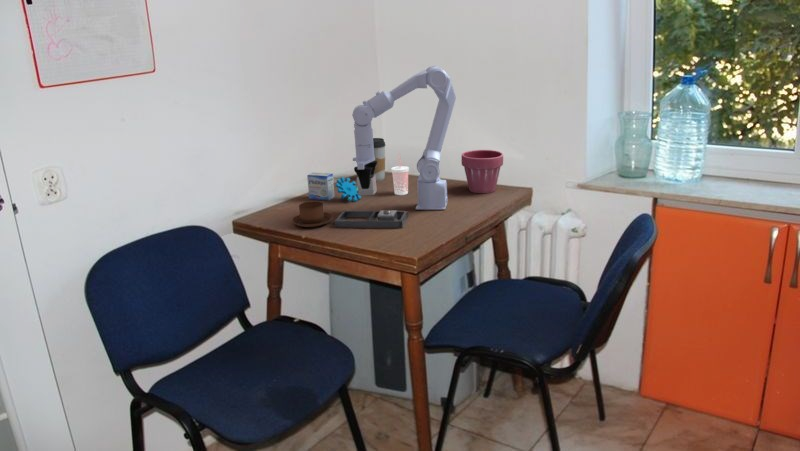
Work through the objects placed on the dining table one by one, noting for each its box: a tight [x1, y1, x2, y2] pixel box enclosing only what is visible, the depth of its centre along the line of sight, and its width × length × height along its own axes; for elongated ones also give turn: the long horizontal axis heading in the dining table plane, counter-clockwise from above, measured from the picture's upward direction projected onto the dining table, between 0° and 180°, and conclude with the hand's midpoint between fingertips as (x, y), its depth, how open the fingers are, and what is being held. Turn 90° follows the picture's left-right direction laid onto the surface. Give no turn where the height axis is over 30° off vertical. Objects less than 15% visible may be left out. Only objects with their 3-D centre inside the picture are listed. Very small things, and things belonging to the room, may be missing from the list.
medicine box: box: [307, 172, 335, 201], centre depth 233 cm, size 8×4×9 cm, turn 68°
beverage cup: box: [390, 153, 410, 196], centre depth 233 cm, size 6×6×14 cm
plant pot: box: [461, 149, 504, 194], centre depth 232 cm, size 14×14×13 cm
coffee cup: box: [373, 137, 386, 182], centre depth 254 cm, size 8×8×15 cm
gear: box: [335, 176, 362, 202], centre depth 231 cm, size 11×6×10 cm
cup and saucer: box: [292, 200, 333, 228], centre depth 207 cm, size 12×12×6 cm
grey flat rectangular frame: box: [334, 210, 409, 229], centre depth 206 cm, size 20×11×2 cm, turn 80°
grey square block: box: [356, 174, 378, 196], centre depth 214 cm, size 5×5×6 cm
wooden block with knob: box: [377, 209, 398, 221], centre depth 204 cm, size 5×5×4 cm
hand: (367, 186), depth 215 cm, fingers closed on grey square block, 5 cm apart
